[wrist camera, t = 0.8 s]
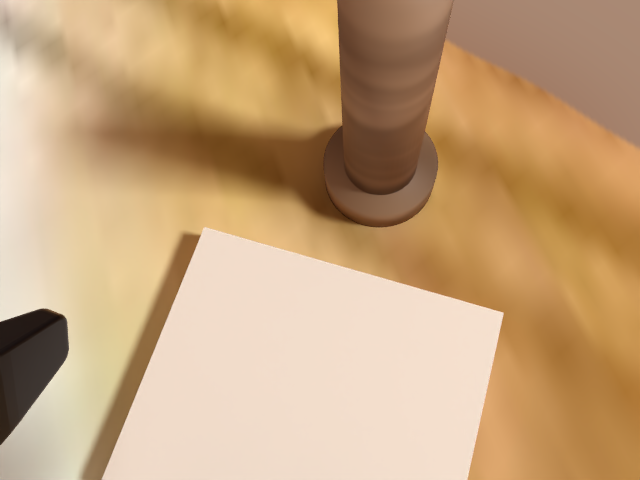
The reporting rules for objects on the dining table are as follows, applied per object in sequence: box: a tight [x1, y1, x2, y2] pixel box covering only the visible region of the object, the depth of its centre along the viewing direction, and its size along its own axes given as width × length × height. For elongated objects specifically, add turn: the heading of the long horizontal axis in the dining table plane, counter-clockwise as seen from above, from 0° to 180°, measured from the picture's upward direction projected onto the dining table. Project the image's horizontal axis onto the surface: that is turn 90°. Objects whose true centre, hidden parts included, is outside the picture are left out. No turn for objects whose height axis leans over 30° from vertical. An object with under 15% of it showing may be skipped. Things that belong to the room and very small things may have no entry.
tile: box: [102, 227, 504, 480], centre depth 23 cm, size 11×13×1 cm
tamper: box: [324, 0, 454, 227], centre depth 21 cm, size 5×5×12 cm
